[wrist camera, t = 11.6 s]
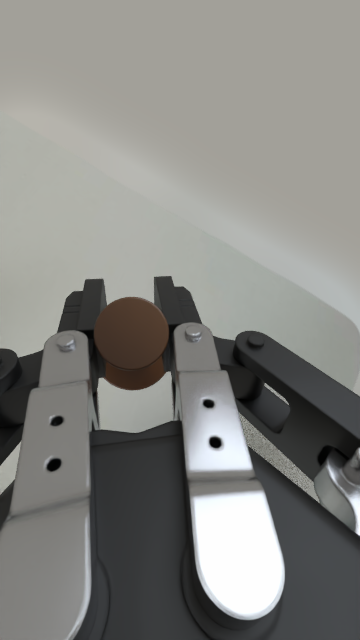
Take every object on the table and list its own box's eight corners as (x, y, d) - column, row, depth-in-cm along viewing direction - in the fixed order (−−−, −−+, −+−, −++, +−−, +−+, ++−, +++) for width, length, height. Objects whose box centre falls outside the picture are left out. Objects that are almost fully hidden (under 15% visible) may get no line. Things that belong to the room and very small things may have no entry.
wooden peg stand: (136, 299, 19) (138, 225, 9) (185, 353, 19) (242, 338, 9) (79, 348, 18) (8, 326, 8) (130, 405, 18) (124, 455, 8)
